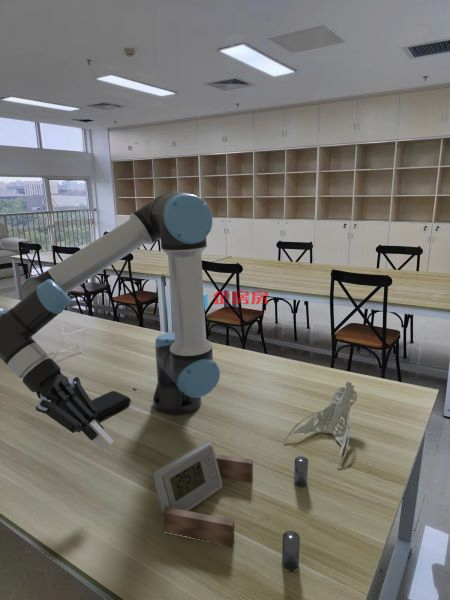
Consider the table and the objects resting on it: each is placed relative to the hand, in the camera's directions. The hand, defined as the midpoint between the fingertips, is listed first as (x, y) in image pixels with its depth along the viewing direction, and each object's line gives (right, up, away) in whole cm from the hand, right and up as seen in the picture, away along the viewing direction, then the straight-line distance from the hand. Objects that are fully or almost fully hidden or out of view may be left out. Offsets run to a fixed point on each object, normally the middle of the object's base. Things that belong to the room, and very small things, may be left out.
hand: (108, 445), depth 92 cm
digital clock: (+18, -12, -1) cm, 22 cm away
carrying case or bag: (-12, -2, +38) cm, 40 cm away
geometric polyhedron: (-39, +11, +85) cm, 94 cm away
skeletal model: (+55, -5, +22) cm, 59 cm away
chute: (+23, -12, -2) cm, 26 cm away
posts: (+40, -13, -7) cm, 43 cm away
